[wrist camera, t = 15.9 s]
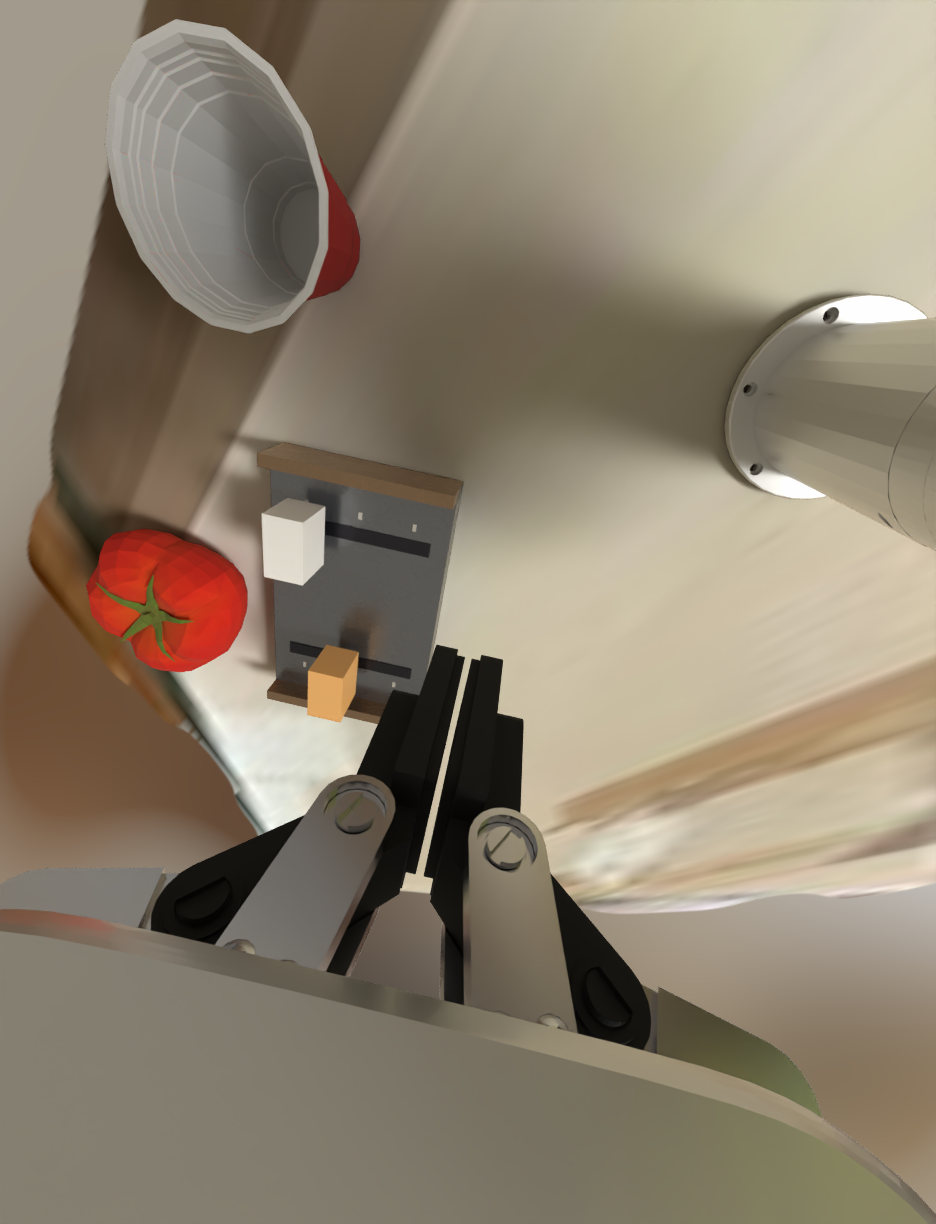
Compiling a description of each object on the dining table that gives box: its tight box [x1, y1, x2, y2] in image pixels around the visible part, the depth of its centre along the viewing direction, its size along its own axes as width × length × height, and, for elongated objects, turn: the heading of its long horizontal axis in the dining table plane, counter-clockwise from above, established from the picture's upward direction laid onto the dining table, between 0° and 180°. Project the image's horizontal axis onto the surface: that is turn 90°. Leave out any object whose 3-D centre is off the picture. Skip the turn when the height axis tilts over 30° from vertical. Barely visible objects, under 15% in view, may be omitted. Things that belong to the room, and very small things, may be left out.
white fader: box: [262, 498, 325, 586], centre depth 37 cm, size 3×5×5 cm, turn 169°
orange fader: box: [307, 645, 359, 722], centre depth 43 cm, size 3×5×5 cm, turn 169°
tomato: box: [86, 529, 247, 672], centre depth 42 cm, size 14×13×9 cm
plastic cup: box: [105, 19, 360, 333], centre depth 27 cm, size 11×11×12 cm
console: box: [257, 442, 463, 724], centre depth 43 cm, size 15×24×4 cm, turn 169°
